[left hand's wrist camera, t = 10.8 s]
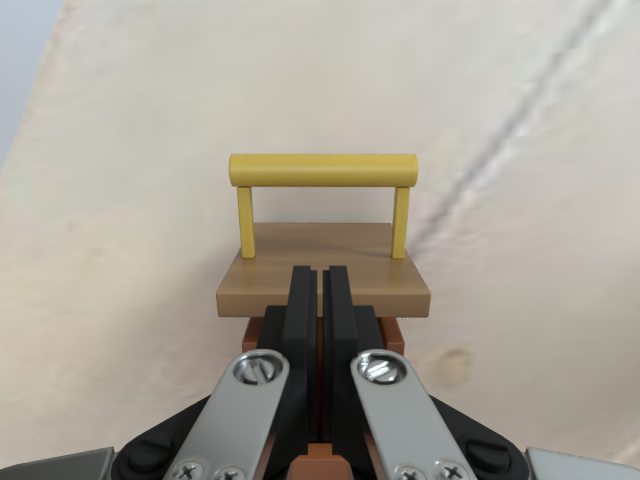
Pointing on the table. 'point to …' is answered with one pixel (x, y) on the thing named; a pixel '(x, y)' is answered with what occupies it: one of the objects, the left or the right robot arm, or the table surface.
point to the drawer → (324, 246)
